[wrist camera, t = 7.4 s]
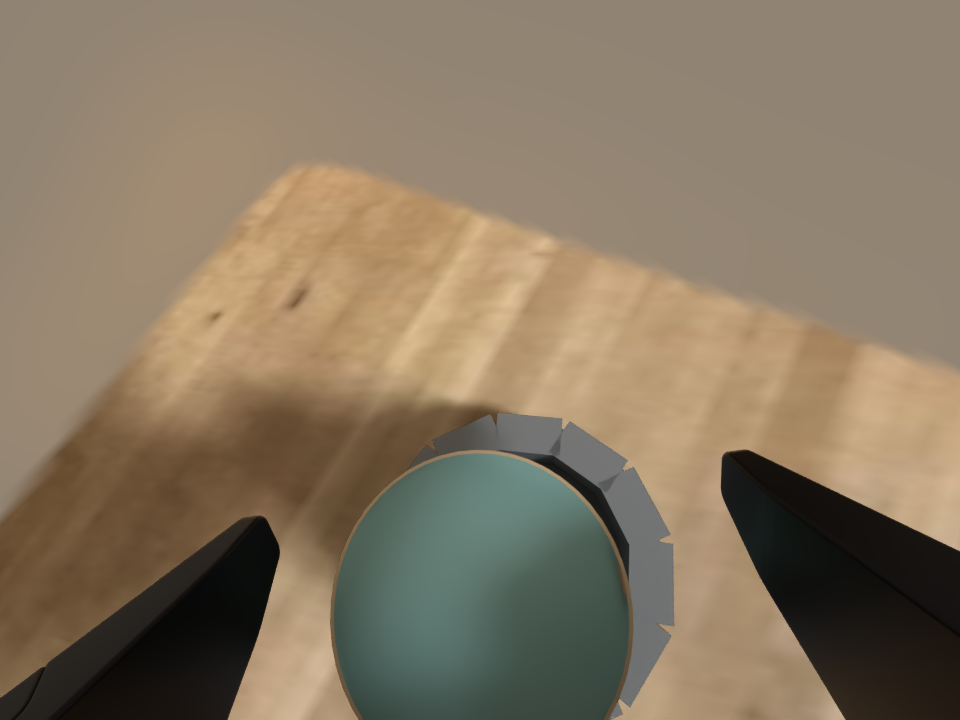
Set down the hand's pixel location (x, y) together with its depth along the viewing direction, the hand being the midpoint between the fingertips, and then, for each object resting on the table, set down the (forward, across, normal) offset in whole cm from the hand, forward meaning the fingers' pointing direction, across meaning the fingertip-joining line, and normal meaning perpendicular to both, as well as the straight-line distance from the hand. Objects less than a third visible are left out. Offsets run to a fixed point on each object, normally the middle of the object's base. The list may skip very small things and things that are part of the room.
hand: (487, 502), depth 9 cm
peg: (+4, 0, +6) cm, 8 cm away
